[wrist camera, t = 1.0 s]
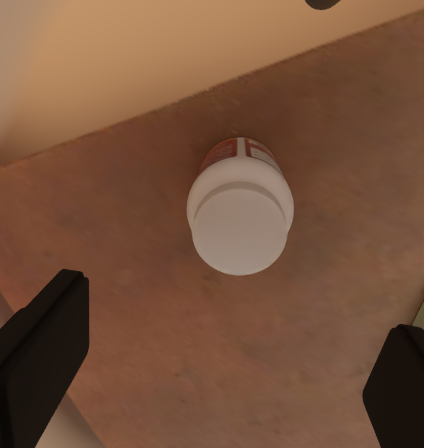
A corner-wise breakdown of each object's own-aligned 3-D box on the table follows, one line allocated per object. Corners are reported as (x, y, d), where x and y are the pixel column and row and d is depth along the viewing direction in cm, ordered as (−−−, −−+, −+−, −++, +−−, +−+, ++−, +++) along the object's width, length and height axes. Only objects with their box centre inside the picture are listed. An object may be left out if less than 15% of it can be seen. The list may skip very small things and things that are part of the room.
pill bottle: (201, 211, 28) (178, 287, 18) (198, 136, 25) (170, 173, 15) (277, 212, 27) (298, 290, 17) (281, 135, 25) (309, 173, 15)
